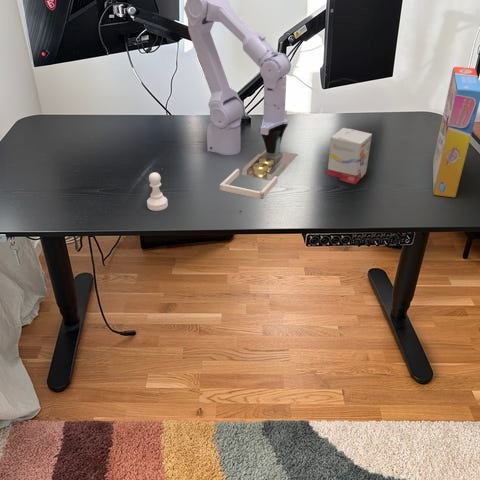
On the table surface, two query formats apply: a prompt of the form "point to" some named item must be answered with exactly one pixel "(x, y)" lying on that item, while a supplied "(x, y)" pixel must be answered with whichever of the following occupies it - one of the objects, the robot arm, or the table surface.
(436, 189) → the game box
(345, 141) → the ink box
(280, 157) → the teal and gray box
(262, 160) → the gold knob
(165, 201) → the chess pawn
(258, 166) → the gold round piece
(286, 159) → the slotted rail
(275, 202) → the table surface
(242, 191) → the tray
